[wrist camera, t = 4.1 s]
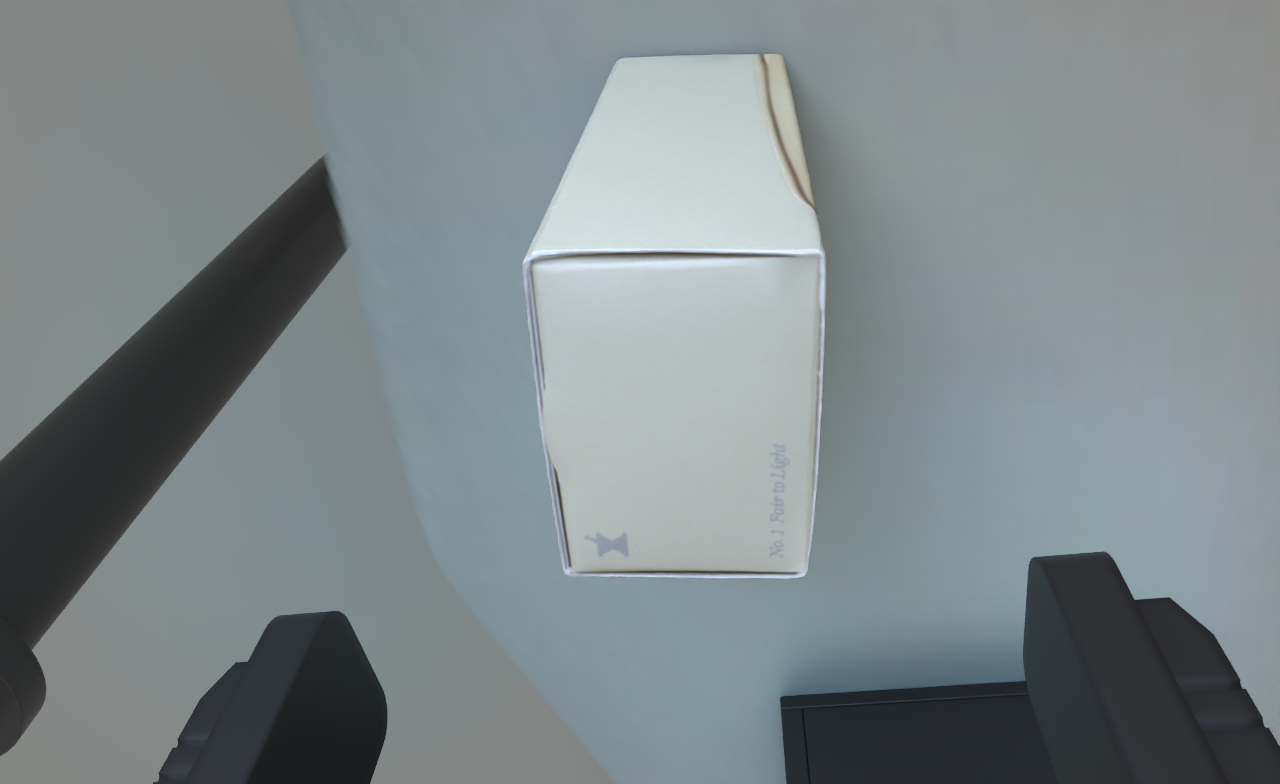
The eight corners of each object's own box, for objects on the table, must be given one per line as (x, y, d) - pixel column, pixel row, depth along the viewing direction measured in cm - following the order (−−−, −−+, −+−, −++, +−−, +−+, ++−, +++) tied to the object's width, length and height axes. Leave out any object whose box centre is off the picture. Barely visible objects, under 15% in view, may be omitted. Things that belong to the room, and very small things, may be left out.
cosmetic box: (776, 275, 26) (818, 592, 16) (618, 278, 26) (559, 589, 16) (784, 40, 22) (845, 250, 12) (603, 47, 23) (513, 256, 13)
